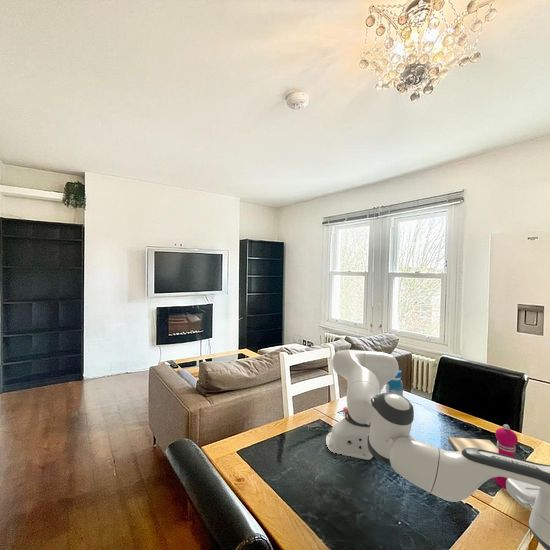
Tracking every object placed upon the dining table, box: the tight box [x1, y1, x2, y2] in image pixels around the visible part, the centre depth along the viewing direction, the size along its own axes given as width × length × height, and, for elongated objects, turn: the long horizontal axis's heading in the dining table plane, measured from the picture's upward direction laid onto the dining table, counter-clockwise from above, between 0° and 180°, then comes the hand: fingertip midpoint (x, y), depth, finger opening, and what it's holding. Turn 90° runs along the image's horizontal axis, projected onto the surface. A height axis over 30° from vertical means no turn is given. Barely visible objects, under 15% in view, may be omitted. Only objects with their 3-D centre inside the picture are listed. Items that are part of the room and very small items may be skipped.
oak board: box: [447, 436, 499, 453], centre depth 119 cm, size 16×16×2 cm
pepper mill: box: [493, 423, 519, 490], centre depth 102 cm, size 7×7×20 cm
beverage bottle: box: [385, 369, 404, 397], centre depth 157 cm, size 8×8×20 cm
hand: (531, 475), depth 90 cm, fingers open, 8 cm apart
